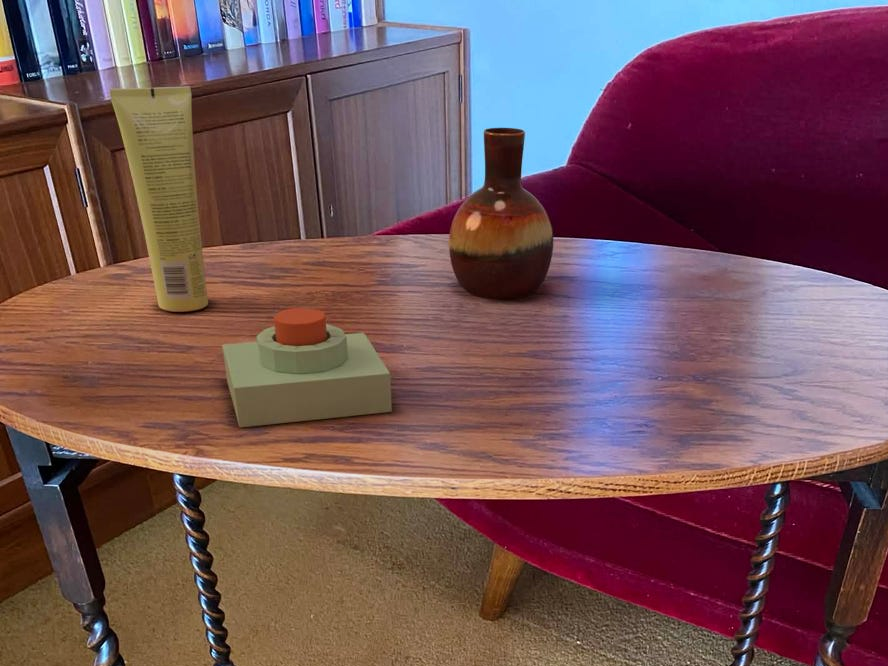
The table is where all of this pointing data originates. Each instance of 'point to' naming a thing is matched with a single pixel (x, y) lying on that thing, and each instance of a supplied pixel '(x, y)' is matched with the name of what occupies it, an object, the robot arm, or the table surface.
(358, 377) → the push button base
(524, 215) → the vase
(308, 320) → the red push button
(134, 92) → the tube
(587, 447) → the table surface
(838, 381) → the table surface
